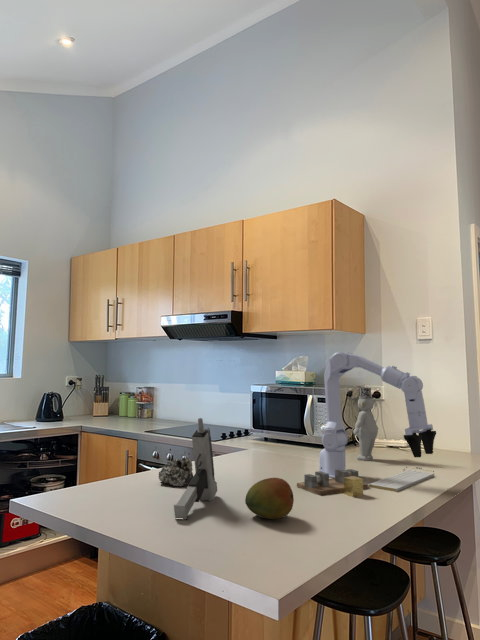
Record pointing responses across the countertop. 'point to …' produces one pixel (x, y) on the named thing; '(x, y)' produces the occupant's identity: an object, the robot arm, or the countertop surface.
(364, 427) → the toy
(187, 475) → the rock
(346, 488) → the block
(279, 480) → the fruit
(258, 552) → the countertop surface
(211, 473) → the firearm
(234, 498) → the countertop surface
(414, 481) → the baseboard molding
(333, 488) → the shaft base
